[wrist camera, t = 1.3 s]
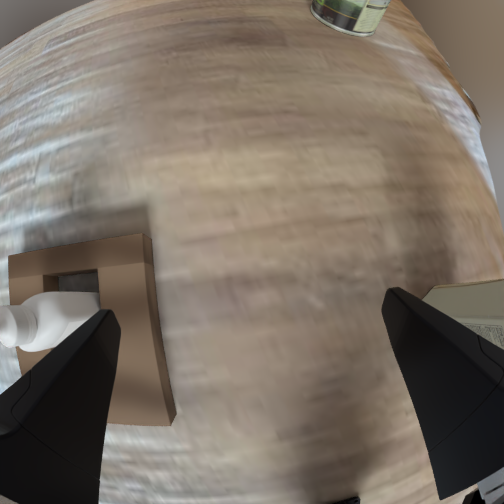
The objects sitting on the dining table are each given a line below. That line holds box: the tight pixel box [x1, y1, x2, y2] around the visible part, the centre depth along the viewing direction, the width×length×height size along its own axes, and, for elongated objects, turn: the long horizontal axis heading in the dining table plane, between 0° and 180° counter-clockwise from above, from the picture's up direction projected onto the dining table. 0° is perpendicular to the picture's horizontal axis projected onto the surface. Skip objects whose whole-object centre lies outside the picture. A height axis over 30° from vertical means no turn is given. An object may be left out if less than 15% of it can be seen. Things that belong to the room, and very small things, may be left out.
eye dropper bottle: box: [0, 292, 101, 352], centre depth 15 cm, size 4×6×12 cm
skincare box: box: [422, 279, 504, 349], centre depth 17 cm, size 6×4×12 cm
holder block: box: [8, 233, 177, 426], centre depth 19 cm, size 15×15×2 cm
